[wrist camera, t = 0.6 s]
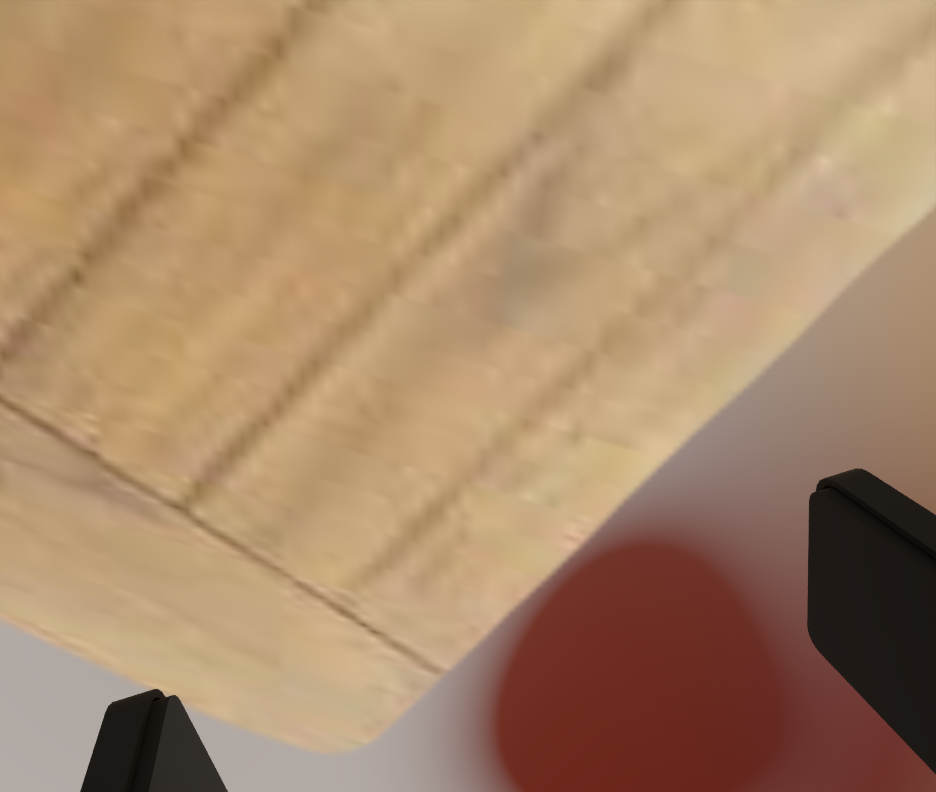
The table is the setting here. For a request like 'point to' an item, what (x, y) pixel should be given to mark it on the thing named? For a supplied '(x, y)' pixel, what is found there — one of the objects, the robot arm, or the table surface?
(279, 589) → the table surface
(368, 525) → the table surface
